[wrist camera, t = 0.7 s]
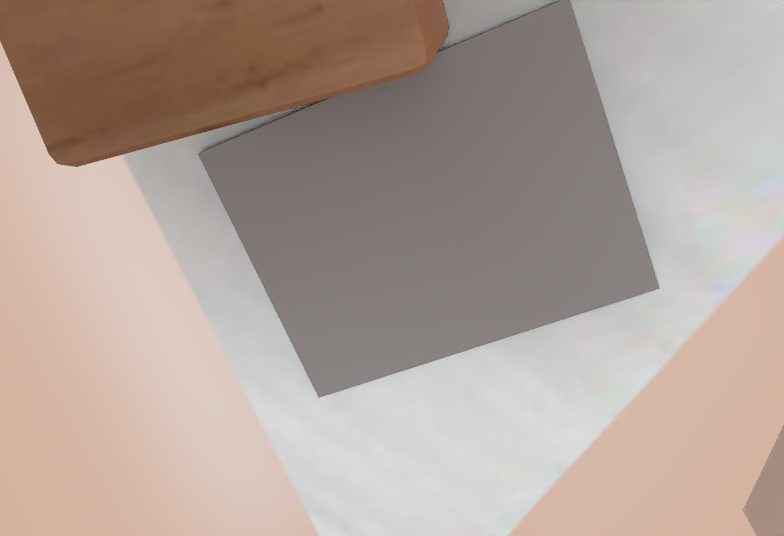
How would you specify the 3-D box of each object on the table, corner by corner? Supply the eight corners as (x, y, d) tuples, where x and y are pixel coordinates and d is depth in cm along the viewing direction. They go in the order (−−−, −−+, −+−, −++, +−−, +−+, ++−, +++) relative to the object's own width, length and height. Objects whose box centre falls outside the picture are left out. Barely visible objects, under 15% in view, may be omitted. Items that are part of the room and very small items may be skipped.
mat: (203, 150, 38) (198, 153, 37) (566, -3, 33) (568, -3, 33) (321, 390, 42) (318, 397, 41) (655, 283, 38) (659, 288, 37)
